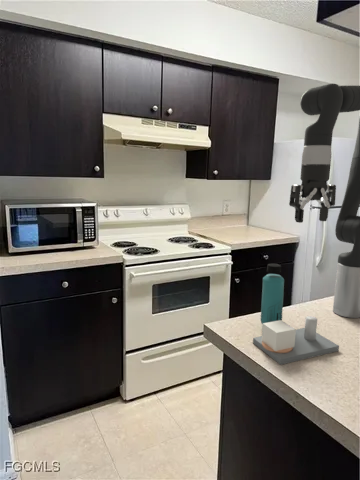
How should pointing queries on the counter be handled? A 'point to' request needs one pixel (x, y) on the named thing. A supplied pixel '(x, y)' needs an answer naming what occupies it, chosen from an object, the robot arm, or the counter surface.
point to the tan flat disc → (276, 351)
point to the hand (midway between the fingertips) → (311, 221)
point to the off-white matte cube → (278, 335)
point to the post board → (303, 344)
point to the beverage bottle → (272, 295)
